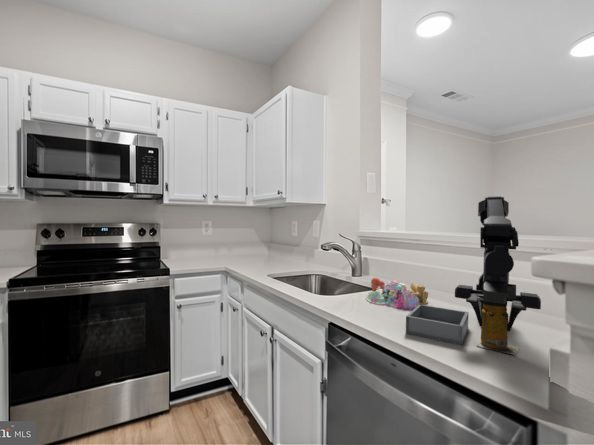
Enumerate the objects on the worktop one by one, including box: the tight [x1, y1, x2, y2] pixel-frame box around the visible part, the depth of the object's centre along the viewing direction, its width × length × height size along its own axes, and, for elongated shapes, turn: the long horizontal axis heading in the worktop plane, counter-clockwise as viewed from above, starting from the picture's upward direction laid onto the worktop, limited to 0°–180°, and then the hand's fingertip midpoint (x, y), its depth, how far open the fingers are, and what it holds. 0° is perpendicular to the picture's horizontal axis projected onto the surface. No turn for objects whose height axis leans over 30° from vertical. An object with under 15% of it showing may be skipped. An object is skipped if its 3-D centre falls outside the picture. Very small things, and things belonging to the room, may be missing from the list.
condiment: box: [475, 301, 520, 356], centre depth 82 cm, size 7×8×12 cm
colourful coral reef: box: [365, 277, 429, 310], centre depth 128 cm, size 25×24×9 cm
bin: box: [405, 304, 469, 346], centre depth 94 cm, size 17×15×5 cm
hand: (494, 328), depth 82 cm, fingers closed on condiment, 6 cm apart
